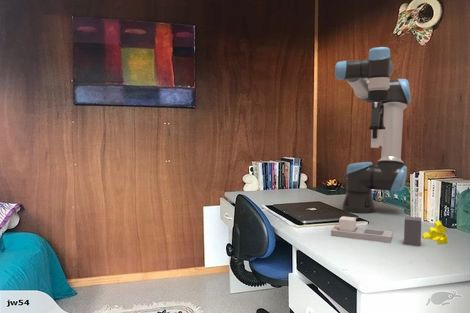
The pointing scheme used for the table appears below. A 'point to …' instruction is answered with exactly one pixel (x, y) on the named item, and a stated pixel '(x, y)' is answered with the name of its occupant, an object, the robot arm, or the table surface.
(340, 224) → the block
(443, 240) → the yellow lumpy cluster
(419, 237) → the block
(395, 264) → the table surface
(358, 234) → the power strip
